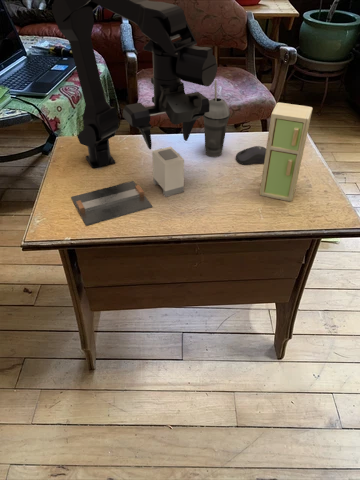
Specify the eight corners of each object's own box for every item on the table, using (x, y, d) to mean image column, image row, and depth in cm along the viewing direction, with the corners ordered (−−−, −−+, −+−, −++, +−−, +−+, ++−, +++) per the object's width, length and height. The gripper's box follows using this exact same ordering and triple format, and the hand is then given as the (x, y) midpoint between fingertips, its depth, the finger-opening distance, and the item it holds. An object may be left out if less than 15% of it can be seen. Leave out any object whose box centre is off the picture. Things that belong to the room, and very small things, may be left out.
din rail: (71, 198, 98) (70, 191, 97) (133, 182, 104) (132, 176, 103) (86, 226, 90) (85, 219, 89) (152, 207, 96) (152, 200, 95)
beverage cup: (210, 162, 112) (215, 89, 99) (195, 151, 117) (198, 80, 104) (231, 155, 115) (238, 83, 102) (216, 144, 120) (221, 74, 107)
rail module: (153, 182, 104) (152, 149, 98) (171, 178, 106) (170, 145, 100) (165, 196, 99) (164, 163, 93) (183, 191, 101) (184, 158, 95)
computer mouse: (233, 156, 115) (235, 143, 112) (265, 154, 116) (267, 141, 113) (238, 166, 111) (240, 153, 108) (271, 164, 112) (274, 151, 109)
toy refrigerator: (257, 196, 99) (270, 114, 86) (264, 181, 105) (277, 101, 91) (290, 204, 97) (309, 120, 84) (295, 188, 102) (314, 106, 89)
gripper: (140, 96, 76) (144, 169, 86) (226, 81, 83) (220, 150, 93) (119, 77, 83) (125, 147, 94) (199, 64, 90) (196, 131, 100)
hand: (167, 144), depth 95 cm, fingers open, 9 cm apart
